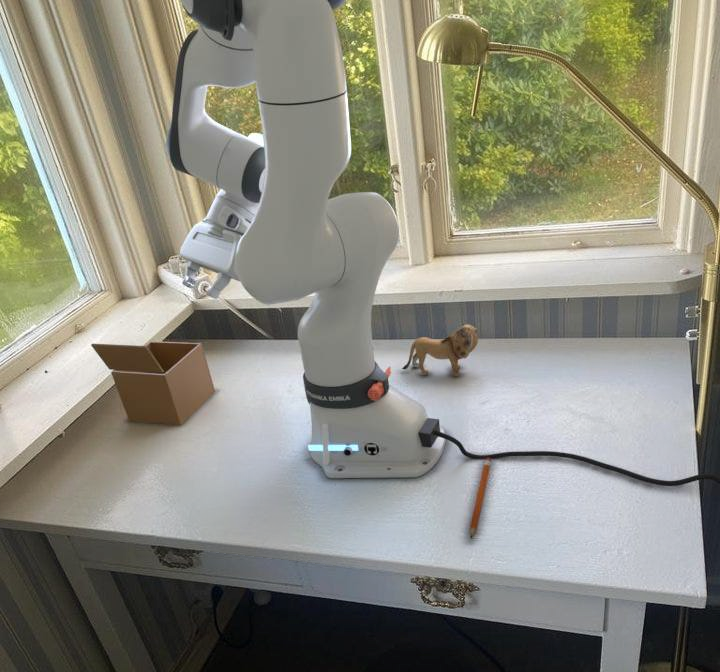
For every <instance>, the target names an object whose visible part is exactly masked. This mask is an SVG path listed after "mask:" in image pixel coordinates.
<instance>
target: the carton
mask: <svg viewBox="0 0 720 672" xmlns="http://www.w3.org/2000/svg"><path fill="white" fill-rule="evenodd" d="M144 346H147V347H148V348H149V350H150V351H151V353H152V354H153V356H154V357H155V359H156V360H157V362H158V363H159V365H160V366H161V368H162V369H163V371H164V372H163V373H160V372H143V371H127V370H111V371H110V374H111V376H112V379H113V381H114V384H115V386H116V390H117V393H118V395H119V398H120V400H121V404H122V406H123V408H124V411H125V414H126V417H127V419H128V421H130V422H139V423H140V422H141V423H150V424H161V425H162V424H163V425H173V426H182V425H183V424H184V423H185V422H186V421H187V420H188V419H189V418H190V417H191V416H192V415H193V414H194V413H195V412H196V411H197V410H198V409H199V408H200V407H201V406H202V405H203V404H205V402H206V401H207V400H208V399H209V398H210V397H211V396H212V395H214V393H215V392H216V390H215V386H214V383H213V379H212V375H211V371H210V367H209V365H208V361H207V357H206V354H205V350H204V346H203V343H202V342H183V341H182V342H181V341H155V340H149V342H147V343H146V344H144Z"/></svg>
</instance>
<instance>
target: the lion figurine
mask: <svg viewBox="0 0 720 672" xmlns="http://www.w3.org/2000/svg"><path fill="white" fill-rule="evenodd" d="M477 331H478V330H477V328H476V327H474V326H473V325H471V324H464V325H461V326H459V328H458V329H457V330H456V331H454V332H453V333H452V334H449V335H447V337H445V338H444V339H433V338H430V337H426V336H422V337H419V338H416V339H415V340H414V341H413V342H412V344H411V346H410V350H409V356H408V361H407V363H406V364H405V365H403V366H402V368H401V369H402V370H407V369H408V368H409V367H410V365H412V367H413V368H419V371H420V373H421V374H422V375H423V376H428V375H429V373H430V372H429V370H426V369H425V367H424V364H425V361H426V357H427V355H429V356H431V357H432V358H434V359H436V360H449V362H450V365H451V371H452V374H453V376H455V377H459V376H461V372H460V371H459V370H460V369H461V366H460V365H459V360H462V359H467V358H468V357H469V355H470V353H472V352H473V351H474V350H476V348H477V345H478V343H479V337H478V333H477ZM414 352H415V354H414ZM417 361H418V362H417Z"/></svg>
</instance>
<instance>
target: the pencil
mask: <svg viewBox="0 0 720 672" xmlns="http://www.w3.org/2000/svg"><path fill="white" fill-rule="evenodd" d="M491 462H492V459H490V458H486V459H484V464H483V468H482V472H481V476H480V482H479V486H478V491H477V495H476V500H475V502H474V503H475V504H474V509H473V512H472V517H471V520H470V521H471V522H470V526H469V536H470V539H472V538H473V536H474V535H475V533H476V531H477V528H478V523H479V518H480V512H481V508H482V504H483V500H484V494H485V490H486V486H487V480H488V476H489V471H490V466H491Z"/></svg>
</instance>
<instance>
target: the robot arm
mask: <svg viewBox="0 0 720 672" xmlns="http://www.w3.org/2000/svg"><path fill="white" fill-rule="evenodd" d="M179 1H180V3H181V6H182V7H183V10H184V12H185V13H186V15H187V17H189V18H190V19H191V20H193V21H194V22H195V23H196V24H198V29H193V30H192V31H190V33H189V34H188V35H187V36H186V37H185V38H184V41H183V43H182V44H181V47H180V50H179V55H178V59H177V64H176V71H175V79H174V80H175V81H174V90H173V100H172V109H171V119H170V123H169V126H168V130H167V134H166V140H165V149H166V150H165V151H166V153H167V156H168V160H169V161H170V164H171V165H172V167H173V168H174V169H175V170H176V171H179V173H180V172H181V173H183V174H186V175H189V176H190V177H193V178H194V177H195V178H197V179H199V180H201V181H203V182H205V183H207V184H209V185H211V186H213V187H215V188H216V189H219V192H217V194H216V195H215V196H214V197H215V198H214V199H213V202H212V203H211V206H210V208H209V210H208V212H207V214H206V217H205V218H204V219H202V220H201V221H199V222H197V223H196V224H194V225H193V227H192V228H191V230H190V231H189V233H188V234H187V236H186V238H185V239H184V241H183V244H182V245H181V247H180V250H179V257H180V258H181V259H183V260H184V261H186V265H185V269H184V270H185V271H184V276H183V279H182V281H181V284H182V285H183V286H184V287H186V288H189V289H191V290H192V289H194V287H195V284H196V283H197V281H196V280H195V279H196V276H197V273H198V272H200V268H202V269H205V270H208V271H211V272H213V273H216V279H215V281H214V283H212V284H211V285H209V286H208V288H207V290H206V295H207V296H208V297H210V298H213V299H215V300H217V299H218V298H219V296H220V294H221V292H222V291H224V289H225V288H226V287H228V286H229V285H230V283H231V281H232V280H234V281H237V282H239V283H240V284H241V285H242V287H243V288H244V290H245V291H246V292H247V293H248V294H249V295H250V296H251V297H252V298H253V299H255V300H256V301H257V302H259V303H261V304H263V305H266V306H268V305H269V306H270V305H271V306H272V305H276V304H282V303H283V304H284V303H289V302H293V301H298V300H302V299H303V298H305V297H308V296H311V295H313V294H314V296H313V299H312V301H311V304H310V305H309V307H308V308H307V310H306V311H305V312H304V314H303V316H301V319H300V321H299V323H298V327H297V340H298V346H299V351H300V356H301V361H302V366H303V374H302V381H303V386H304V391H305V398H306V401H307V404H308V405H309V407H310V408H309V409H310V422H311V435H310V436H311V437H310V438H311V439H310V444H308V445H307V448H308V451H309V454H310V457H311V459H312V460H313V461H314V462H315V464H318V465H319V467H321V468H322V470H323V472H324V474H325V476H326V477H327V478H329V479H382V478H383V479H385V478H386V479H387V478H390V479H391V478H393V479H394V478H399V479H400V478H419V477H422V476H423V475H425V474H427V473H428V472H429V471H430V470H432V468H434V466H435V465H437V463H438V461H439V460H440V459H441V456H442V455H443V453H444V450H445V447H446V443H447V442H446V441H448V442H451V443H453V444H455V445H456V446H457V447H458V449H459V451H460V453H461V454H462V455H463V456H465V457H466V458H469V459H472V460H485V459H486V458H490V459H491V460H492V459H493V460H494V459H501V458H508V457H510V458H511V457H554V458H555V457H557V458H564V459H571V460H574V461H579V462H583V463H587V464H590V465H593V466H596V467H597V468H601V469H604V470H608V471H611V472H613V473H614V472H615V473H618V474H621V475H624V476H627V477H628V478H629V477H630V478H632V479H635V480H638V481H640V482H644V483H647V484H651V485H657V486H664V487H676V486H677V487H678V486H682V485H686V484H690V483H694V482H696V481H702V480H713V481H714V482H717V483H718V484H720V476H718V475H716V474H713V473H699V474H696V475H693V476H689V477H685V478H682V479H677V480H664V479H657V478H652V477H648V476H645V475H641V474H639V473H636V472H633V471H630V470H627V469H625V468H621V467H618V466H615V465H611V464H607V463H605V462H602V461H598V460H596V459H594V458H593V459H592V458H589V457H586V456H582V455H578V454H574V453H568V452H562V451H561V452H560V451H547V450H531V451H527V450H526V451H505V452H498V453H493V454H475V453H472V452H469V451H467V450H466V448H465V447H464V445H463V444H462V442H460V441H459V440H458V439H457V438H455V437H453V436H452V435H449V434H447V433H445V431H444V429H443V427H442V426H441V425H440V419H439V418H432V417H429V415H428V413H427V410H426V409H425V407H424V405H423V404H421V403H420V402H419V401H417V400H415V399H413V398H412V397H411V396H408V395H407V394H405V393H404V392H402V391H400V390H399V389H397V388H395V387H394V386H392V385H390V382H389V378H390V376H391V374H392V371H391V366H388V367H387V369H386V370H385V371H384V370H382V369H381V368H380V366H379V364H378V363H377V362H376V360H375V354H374V353H375V352H374V346H373V345H374V343H373V332H372V311H373V305H374V301H375V300H374V299H375V294H376V291H377V287H378V283H379V280H380V277H381V276H382V272H383V270H384V267H385V266H386V264H387V262H388V260H389V259H390V257H391V256H392V254H393V253H394V252H395V250H396V249H397V246H398V242H399V236H400V229H399V221H398V217H397V215H396V212H395V211H394V208H393V207H392V205H391V204H390V202H389V201H387V199H386V198H385V197H384V196H382V195H381V194H379V193H378V192H375V191H363V192H362V191H361V192H359V191H358V192H350V193H343V194H340V195H337V196H335V197H331V198H329V197H330V195H331V191H332V189H333V187H334V185H335V183H336V182H337V180H338V178H339V177H341V174H342V173H343V172H344V171H345V169H346V168H347V166H348V164H349V161H350V159H351V155H352V140H351V126H350V113H349V112H350V111H349V101H348V88H347V77H346V70H345V69H346V68H345V62H344V55H343V50H342V44H341V40H340V36H339V31H338V27H337V22H336V18H335V13H334V11H335V10H337V9H338V8H340V7H342V6H343V5H344V4H345V2H346V0H179ZM254 84H255V85H256V93H257V101H258V102H257V103H258V107H259V116H260V122H261V123H260V124H261V129H262V133H259V132H252V133H250V134H249V135H248V136H246V135H244V134H243V133H239V132H238V131H235V130H233V129H231V128H228V127H226V126H225V125H222V124H221V123H218V122H216V121H215V120H214V119H213V118H212V117H210V116H209V115H208V114H207V113H206V112H205V106H206V105H205V104H206V98H207V91H208V87H222V88H226V89H240V88H241V89H242V88H245V87H249V86H251V85H254Z"/></svg>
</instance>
